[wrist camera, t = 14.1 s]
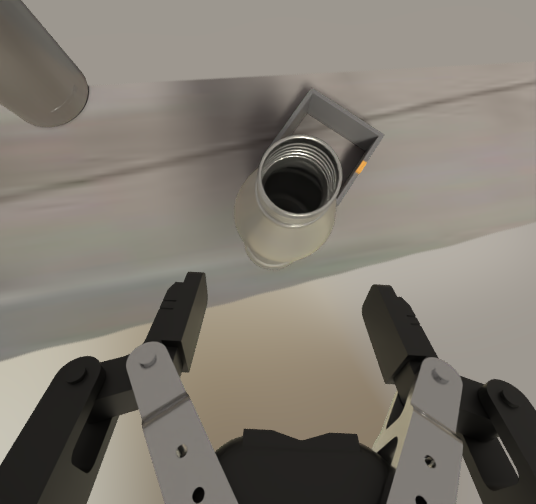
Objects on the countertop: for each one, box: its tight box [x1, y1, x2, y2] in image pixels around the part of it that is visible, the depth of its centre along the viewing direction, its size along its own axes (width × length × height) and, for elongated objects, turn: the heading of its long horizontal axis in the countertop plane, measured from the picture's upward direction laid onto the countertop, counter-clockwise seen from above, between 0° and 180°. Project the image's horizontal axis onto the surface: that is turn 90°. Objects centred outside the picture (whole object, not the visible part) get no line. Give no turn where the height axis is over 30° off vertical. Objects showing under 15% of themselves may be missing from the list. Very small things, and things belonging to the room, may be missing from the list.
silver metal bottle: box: [234, 135, 342, 270], centre depth 20 cm, size 6×7×20 cm
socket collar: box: [263, 88, 384, 207], centre depth 30 cm, size 10×10×4 cm
